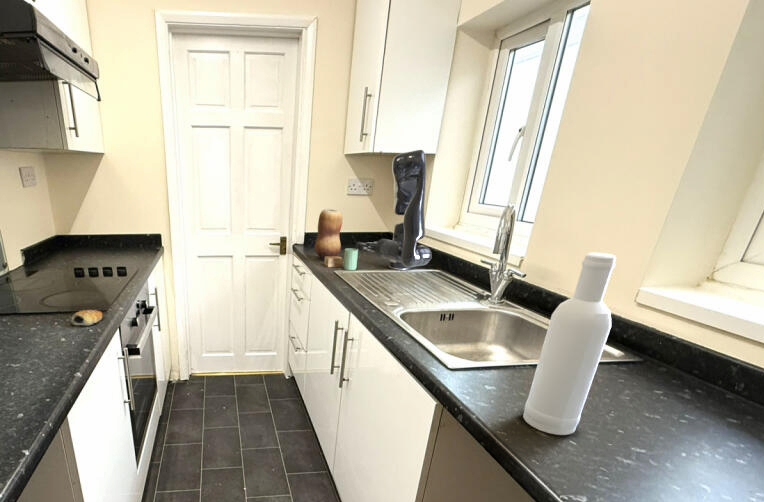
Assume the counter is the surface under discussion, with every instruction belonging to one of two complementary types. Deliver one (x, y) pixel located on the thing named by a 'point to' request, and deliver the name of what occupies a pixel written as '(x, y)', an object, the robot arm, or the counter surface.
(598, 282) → the bottle
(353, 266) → the cup
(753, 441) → the counter surface
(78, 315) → the pastry
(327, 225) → the butternut squash
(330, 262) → the block
